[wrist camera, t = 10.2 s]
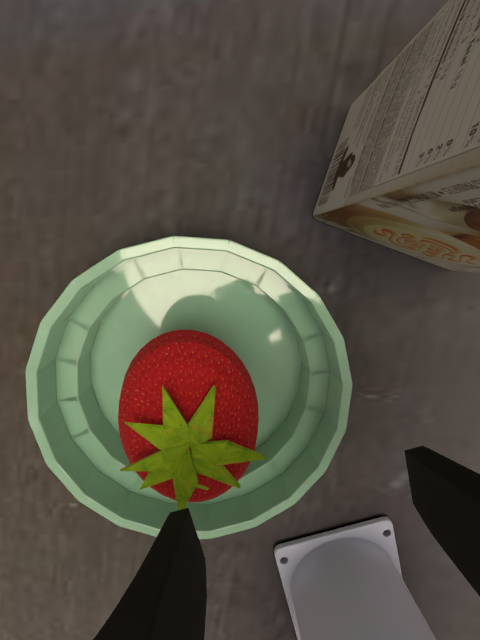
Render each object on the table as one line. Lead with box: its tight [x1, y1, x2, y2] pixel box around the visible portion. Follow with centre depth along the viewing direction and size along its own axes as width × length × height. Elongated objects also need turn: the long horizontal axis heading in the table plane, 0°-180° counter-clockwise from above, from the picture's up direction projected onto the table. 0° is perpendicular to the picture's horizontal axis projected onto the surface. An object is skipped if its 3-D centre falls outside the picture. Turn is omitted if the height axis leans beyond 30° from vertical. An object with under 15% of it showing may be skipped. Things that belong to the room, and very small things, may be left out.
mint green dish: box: [26, 236, 352, 539], centre depth 19 cm, size 15×15×4 cm
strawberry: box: [118, 330, 266, 510], centre depth 16 cm, size 6×8×10 cm
